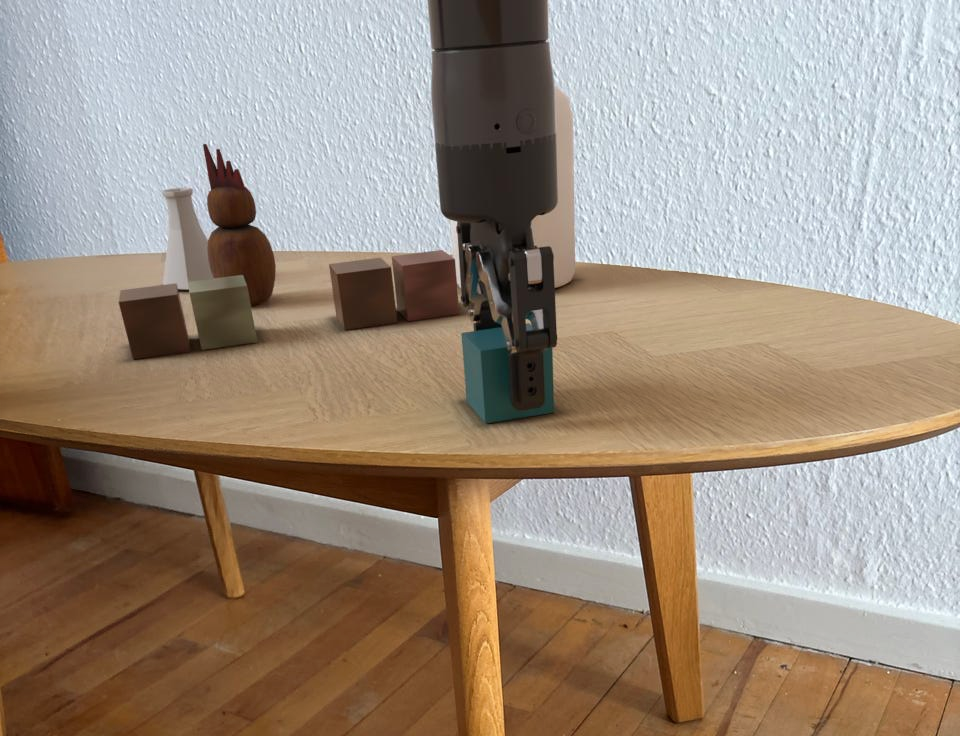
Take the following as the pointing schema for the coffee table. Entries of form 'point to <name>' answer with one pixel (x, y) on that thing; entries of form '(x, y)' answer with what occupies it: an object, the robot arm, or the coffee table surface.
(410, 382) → the coffee table surface
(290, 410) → the coffee table surface
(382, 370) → the coffee table surface
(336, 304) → the block row
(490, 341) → the teal block
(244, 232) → the wooden figurine
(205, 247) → the flask
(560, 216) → the white jar
